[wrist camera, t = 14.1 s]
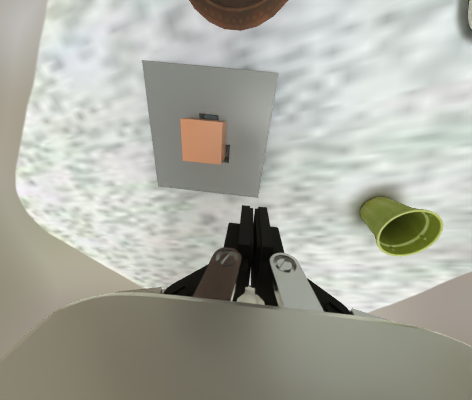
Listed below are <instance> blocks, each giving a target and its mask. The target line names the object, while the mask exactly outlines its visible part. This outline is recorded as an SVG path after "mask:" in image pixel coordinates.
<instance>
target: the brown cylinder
mask: <svg viewBox="0 0 472 400" xmlns="http://www.w3.org/2000/svg"><path fill="white" fill-rule="evenodd" d="M189 1H190V2H191V4H192V5H193V7H194V8H195V9H196V10H197V11H198V12H199V13H200V14H201V15H202V16H203V17H204V18H206V19H207V20H208V21H209V22H211V23H213V24H215V25H217V26H219V27H221V28H224V29H230V30H240V31H241V30H245V29H249V28H253V27H257V26H259V25H260V24H262V23H264V22H265V21H267V20H268V19H270V18H271V17H273V16H274V15H275V14H276V13H277V12H278V11H279V10H280V9H281V8H282V7H283V6H284V4H285V3H286V2H287V1H288V0H189Z"/></svg>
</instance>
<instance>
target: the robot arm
mask: <svg viewBox="0 0 472 400" xmlns="http://www.w3.org/2000/svg"><path fill="white" fill-rule="evenodd" d="M250 271H251V287H250V286H249V278H250ZM0 400H472V346H470V345H468V344H466V343H464V342H461V341H459V340H457V339H454V338H452V337H449V336H447V335H445V334H442V333H439V332H435V331H432V330H429V329H426V328H423V327H418V326H414V325H410V324H406V323H400V322H395V321H390V320H387V319H384V318H381V317H378V316H374V315H371V314H368V313H365V312H362V311H359V310H355V309H351V311H350V310H348V309H347V308H346V307H345V306H344V305H343V304H342V303H341V302H339V301H338V300H336V299H335V298H334V297H332V296H331V295H330V294H328V293H327V292H325V291H324V290H323V289H321V288H320V287H319V286H317V285H316V284H314V283H313V282H312V281H310V280H309V279H308V278H306V276H305V274H304V272H303V270H302V268H301V266H300V264H299V263H298V261H297V260H296V259H295V258H294V257H292V256H291V255H289V254H286V253H284V250H283V246H282V242H281V238H280V234H279V230H278V228H277V227H270V223H269V217H268V212H267V208H266V207H258V209H255V214H254V222H253V208H250V206H243V205H242V211H241V221H240V224H236V223H229V225H228V230H227V234H226V239H225V244H224V248H221V249H219V250H217V251H216V252H215V253H214V254H213V256H212V258H211V260H210V263H209V264H208V265H206V266H204V267H203V268H201V269H199V270H197V271H195V272H194V273H192V274H190V275H188V276H186V277H185V278H183V279H181V280H179V281H177V282H176V283H174V284H172V285H171V286H169V287H168V288H167V289H163V290H162V288H161V287H158V288H149V289H139V290H129V291H121V292H116V293H109V294H102V295H97V296H93V297H89V298H85V299H82V300H78V301H75V302H73V303H70V304H68V305H66V306H64V307H62V308H60V309H58V310H57V311H55V312H53V313H52V314H51V315H49V316H48V317H46V318H45V319H44V320H43V321H41V322H40V323H39V324H37V325H36V326H35V327H34V328H33V329H31V330H30V331H29V332H28V333H27V334H26V335H24V336H23V337H22V338H21V339H20V340H18V341H17V342H16V343H15V344H14V345H13V346H12V347H11V348H9V349H8V350H7V351H6V352H5V353H4V354H3V355H2V356H1V357H0Z"/></svg>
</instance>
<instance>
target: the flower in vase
mask: <svg viewBox="0 0 472 400" xmlns="http://www.w3.org/2000/svg"><path fill="white" fill-rule="evenodd" d="M468 20H469V24H470V27H471V29H472V0H470V1H469V8H468Z"/></svg>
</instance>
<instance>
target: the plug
mask: <svg viewBox="0 0 472 400" xmlns="http://www.w3.org/2000/svg"><path fill="white" fill-rule="evenodd" d="M180 122H181V139H182V156H183V161H190V162H200V163H209V164H219V165H221V163H222V162H223V160H224V158H225V155H226V147H225V143H226V125H227V121H217V120H207V119H196V118H180Z"/></svg>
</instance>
